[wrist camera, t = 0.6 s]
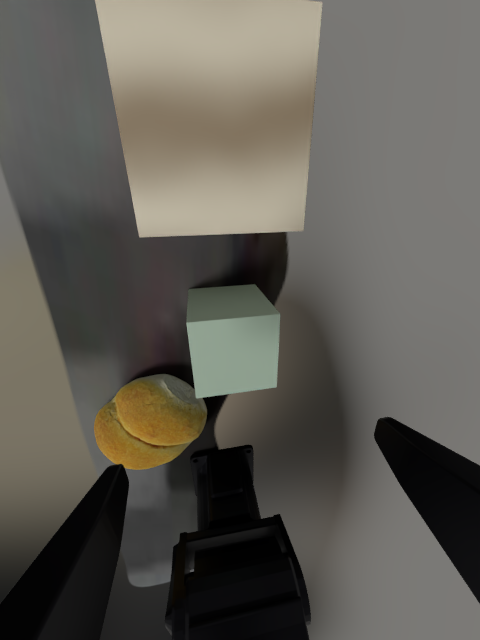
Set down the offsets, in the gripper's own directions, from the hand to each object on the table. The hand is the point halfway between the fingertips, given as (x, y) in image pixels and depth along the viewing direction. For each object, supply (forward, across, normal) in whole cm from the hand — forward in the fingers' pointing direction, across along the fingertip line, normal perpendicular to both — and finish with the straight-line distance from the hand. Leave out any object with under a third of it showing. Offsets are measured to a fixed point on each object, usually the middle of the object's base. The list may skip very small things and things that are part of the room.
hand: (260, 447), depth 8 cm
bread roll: (+12, +7, +8) cm, 16 cm away
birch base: (+12, 0, -11) cm, 16 cm away
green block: (+12, 0, 0) cm, 12 cm away
